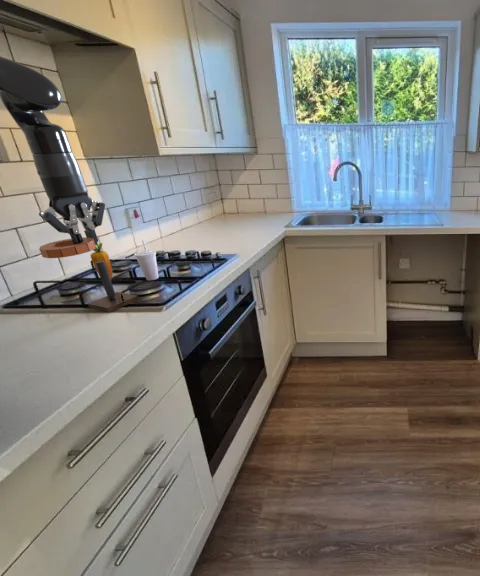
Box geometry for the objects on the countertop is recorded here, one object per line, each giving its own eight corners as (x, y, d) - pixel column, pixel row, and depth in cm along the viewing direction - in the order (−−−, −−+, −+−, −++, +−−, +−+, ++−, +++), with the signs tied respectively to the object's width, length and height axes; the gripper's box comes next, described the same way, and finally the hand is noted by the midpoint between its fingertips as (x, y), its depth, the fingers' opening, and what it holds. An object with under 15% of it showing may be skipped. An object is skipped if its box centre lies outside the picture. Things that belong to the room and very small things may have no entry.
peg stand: (109, 312, 104) (93, 268, 98) (89, 308, 107) (72, 265, 101) (139, 299, 111) (125, 258, 106) (119, 296, 114) (105, 255, 109)
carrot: (120, 281, 126) (106, 240, 120) (105, 287, 122) (90, 244, 116) (112, 279, 128) (98, 238, 122) (97, 284, 124) (81, 242, 118)
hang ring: (59, 260, 80) (55, 251, 79) (33, 255, 84) (29, 247, 83) (105, 247, 89) (102, 239, 88) (80, 243, 92) (77, 236, 91)
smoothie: (166, 277, 129) (155, 239, 123) (147, 283, 124) (135, 244, 118) (157, 274, 132) (146, 237, 127) (138, 279, 127) (126, 241, 122)
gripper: (34, 178, 75) (66, 256, 82) (102, 170, 87) (125, 240, 94) (13, 177, 78) (46, 253, 85) (82, 170, 90) (106, 237, 97)
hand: (87, 246), depth 90 cm, fingers closed on hang ring, 2 cm apart
